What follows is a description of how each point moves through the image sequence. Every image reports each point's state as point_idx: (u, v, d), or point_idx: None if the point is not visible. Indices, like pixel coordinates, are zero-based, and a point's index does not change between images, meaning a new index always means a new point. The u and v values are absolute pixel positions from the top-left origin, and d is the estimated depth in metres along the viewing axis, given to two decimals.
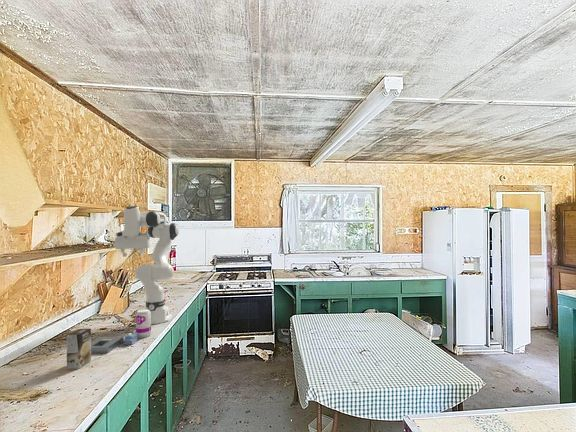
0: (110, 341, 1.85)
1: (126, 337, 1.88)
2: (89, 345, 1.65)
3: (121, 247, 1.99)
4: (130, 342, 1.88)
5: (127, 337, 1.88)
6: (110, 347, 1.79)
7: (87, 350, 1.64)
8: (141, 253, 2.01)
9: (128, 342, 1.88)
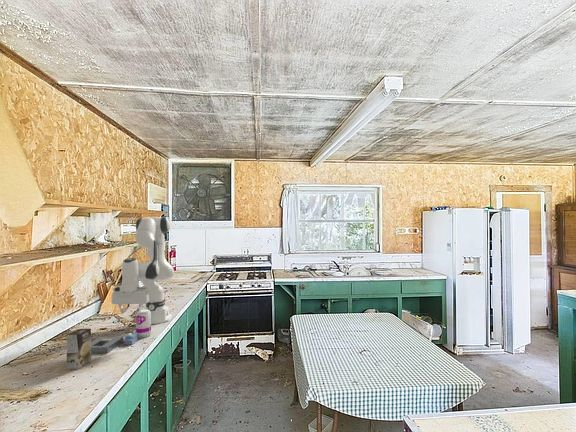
0: (110, 341, 1.85)
1: (126, 337, 1.88)
2: (89, 345, 1.65)
3: (119, 302, 1.90)
4: (130, 342, 1.88)
5: (127, 337, 1.88)
6: (110, 347, 1.79)
7: (87, 350, 1.64)
8: (140, 308, 1.91)
9: (128, 342, 1.88)
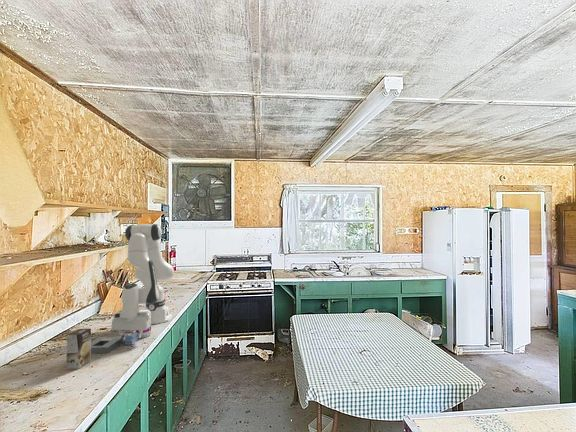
0: (110, 341, 1.85)
1: (126, 337, 1.88)
2: (89, 345, 1.65)
3: (119, 329, 1.89)
4: (130, 342, 1.88)
5: (127, 337, 1.88)
6: (110, 347, 1.79)
7: (87, 350, 1.64)
8: (140, 335, 1.90)
9: (128, 342, 1.88)
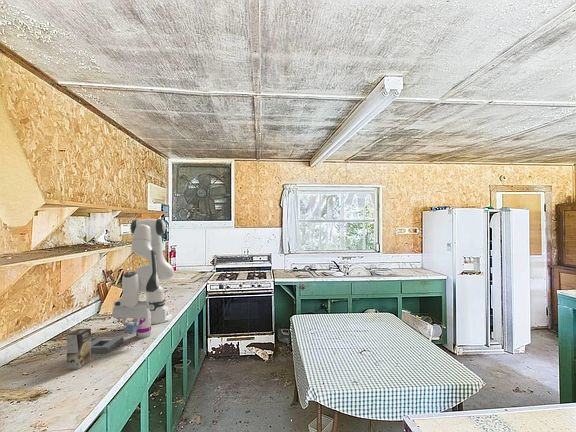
0: (110, 341, 1.85)
1: (127, 326, 1.90)
2: (89, 345, 1.65)
3: (119, 316, 1.90)
4: (131, 331, 1.90)
5: (128, 326, 1.90)
6: (110, 347, 1.79)
7: (87, 350, 1.64)
8: (137, 322, 1.92)
9: (129, 330, 1.90)
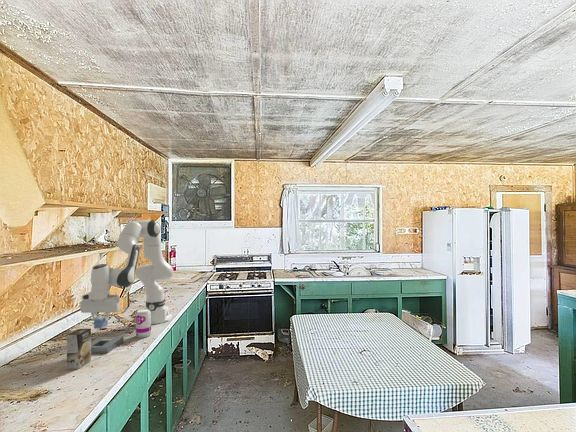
0: (110, 341, 1.85)
1: (95, 320, 1.80)
2: (89, 345, 1.65)
3: (88, 311, 1.81)
4: (99, 326, 1.80)
5: (96, 320, 1.80)
6: (110, 347, 1.79)
7: (87, 350, 1.64)
8: (106, 317, 1.82)
9: (97, 325, 1.80)
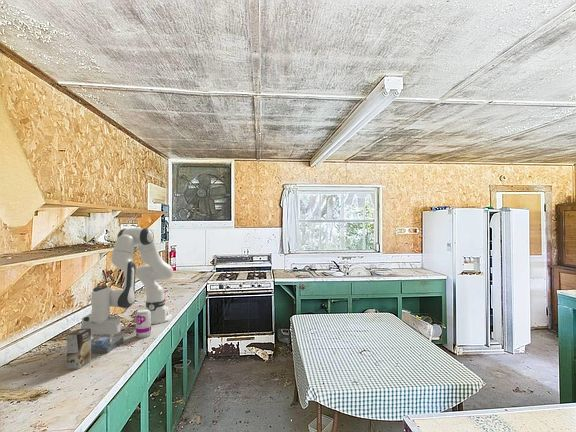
0: None
1: (96, 342, 1.80)
2: (89, 345, 1.65)
3: None
4: None
5: (97, 342, 1.80)
6: (110, 347, 1.79)
7: (87, 350, 1.64)
8: (110, 339, 1.82)
9: None
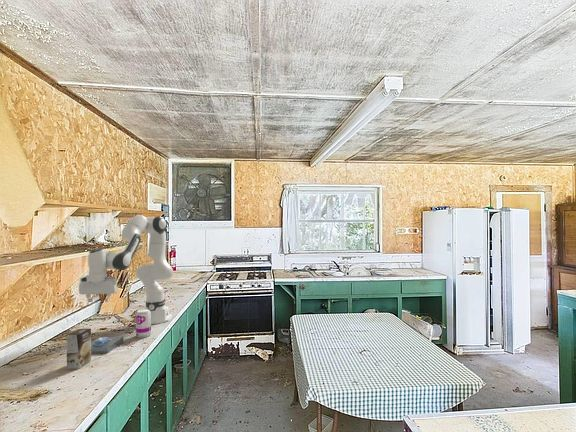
0: (110, 341, 1.85)
1: (96, 342, 1.80)
2: (89, 345, 1.65)
3: (86, 293, 1.89)
4: None
5: (97, 342, 1.80)
6: (110, 347, 1.79)
7: (87, 350, 1.64)
8: (108, 298, 1.91)
9: None
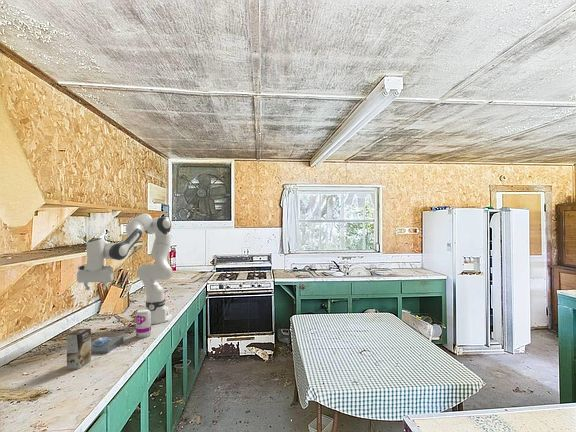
0: (110, 341, 1.85)
1: (96, 342, 1.80)
2: (89, 345, 1.65)
3: (84, 281, 1.95)
4: None
5: (97, 342, 1.80)
6: (110, 347, 1.79)
7: (87, 350, 1.64)
8: (104, 287, 1.97)
9: None
